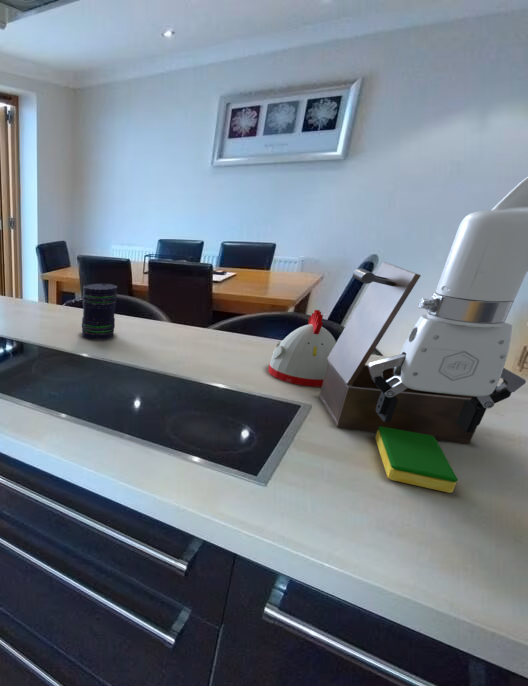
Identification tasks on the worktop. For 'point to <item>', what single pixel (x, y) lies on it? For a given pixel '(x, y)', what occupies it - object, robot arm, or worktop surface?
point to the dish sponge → (415, 459)
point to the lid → (371, 318)
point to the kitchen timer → (303, 354)
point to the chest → (410, 413)
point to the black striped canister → (98, 311)
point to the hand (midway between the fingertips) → (422, 423)
